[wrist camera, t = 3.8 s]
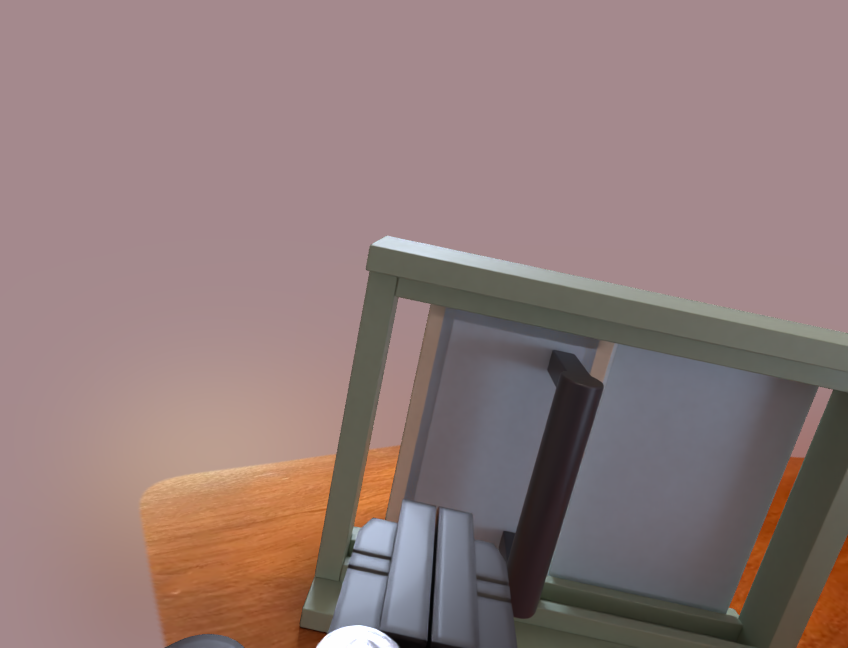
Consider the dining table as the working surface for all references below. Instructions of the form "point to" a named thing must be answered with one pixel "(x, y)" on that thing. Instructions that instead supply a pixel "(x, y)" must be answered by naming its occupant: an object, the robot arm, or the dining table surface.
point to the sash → (501, 434)
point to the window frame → (639, 456)
